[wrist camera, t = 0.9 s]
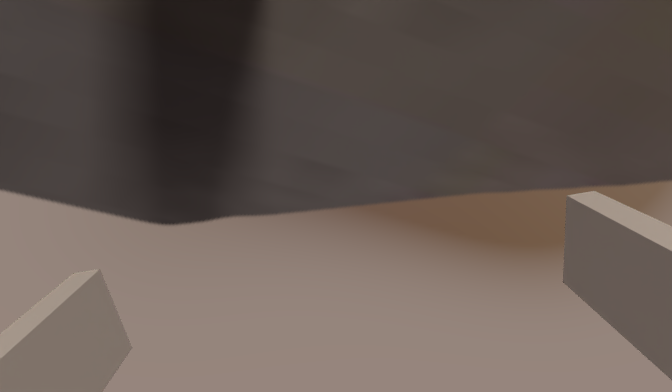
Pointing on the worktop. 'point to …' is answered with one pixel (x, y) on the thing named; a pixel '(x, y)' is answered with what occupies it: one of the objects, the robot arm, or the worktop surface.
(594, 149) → the worktop surface
